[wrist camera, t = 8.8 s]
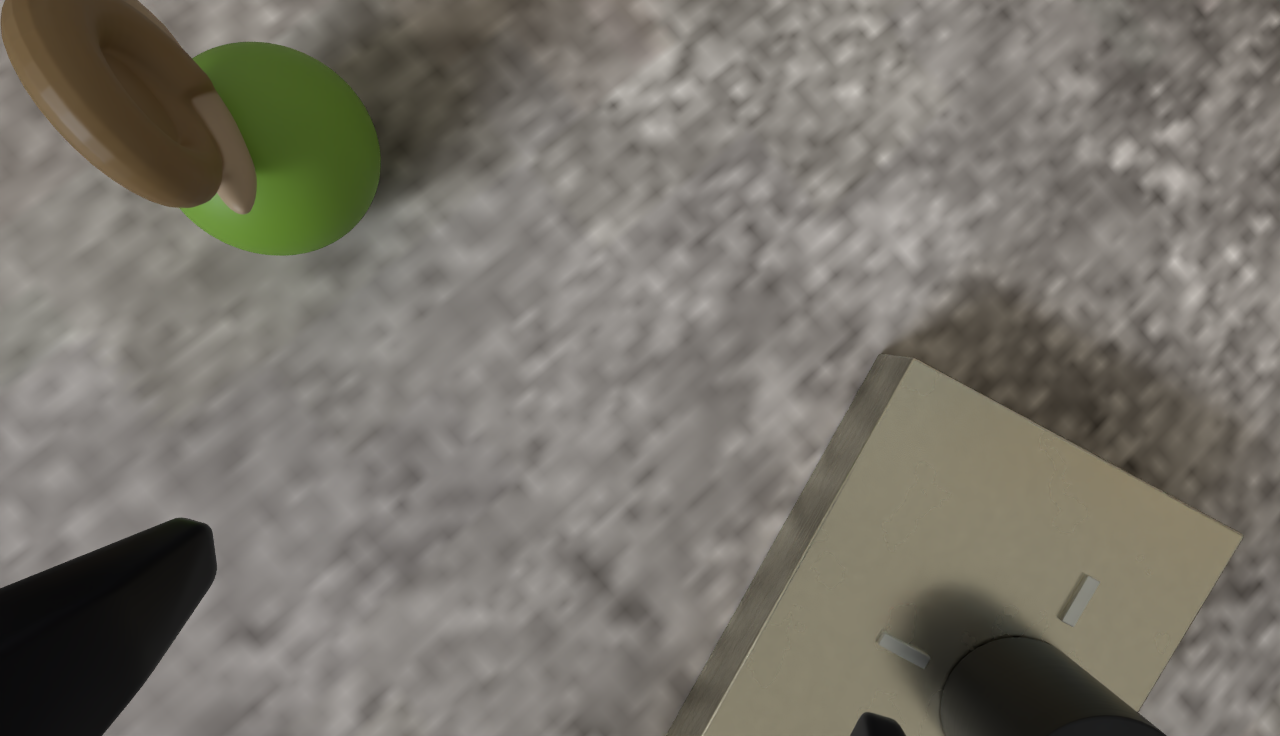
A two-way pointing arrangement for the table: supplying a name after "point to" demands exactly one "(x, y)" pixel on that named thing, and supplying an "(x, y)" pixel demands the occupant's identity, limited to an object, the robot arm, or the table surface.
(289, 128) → the snail figurine
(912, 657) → the silver flat block
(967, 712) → the knob
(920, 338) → the table surface
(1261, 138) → the table surface
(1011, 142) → the table surface
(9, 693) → the robot arm
